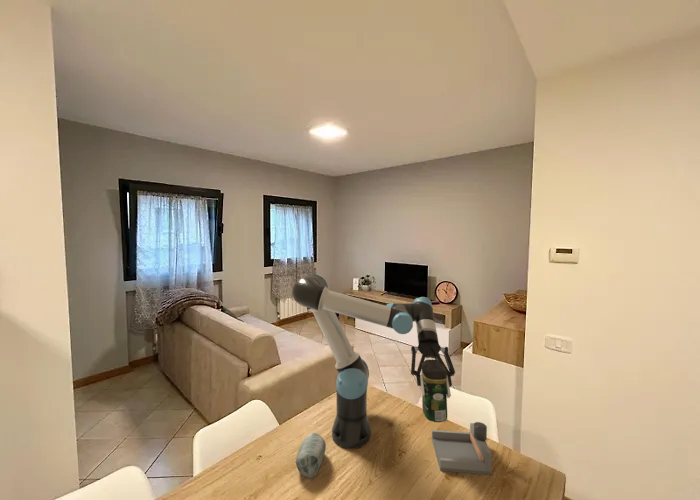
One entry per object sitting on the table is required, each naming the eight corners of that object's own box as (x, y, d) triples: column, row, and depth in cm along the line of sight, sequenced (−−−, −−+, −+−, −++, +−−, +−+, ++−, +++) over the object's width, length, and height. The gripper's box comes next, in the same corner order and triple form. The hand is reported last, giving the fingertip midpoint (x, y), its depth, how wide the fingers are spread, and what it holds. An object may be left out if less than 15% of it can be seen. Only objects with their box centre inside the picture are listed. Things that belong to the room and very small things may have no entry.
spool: (322, 476, 85) (310, 441, 88) (295, 487, 87) (284, 452, 90) (335, 455, 98) (325, 425, 101) (312, 464, 99) (302, 434, 102)
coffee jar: (420, 407, 104) (419, 357, 103) (441, 406, 104) (441, 357, 103) (426, 424, 94) (425, 369, 94) (450, 423, 94) (449, 369, 93)
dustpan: (440, 470, 92) (440, 437, 91) (431, 438, 107) (431, 410, 106) (494, 475, 90) (495, 441, 90) (478, 442, 105) (478, 413, 105)
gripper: (452, 338, 113) (465, 400, 97) (400, 337, 115) (404, 398, 99) (455, 329, 107) (470, 393, 92) (400, 329, 109) (405, 391, 94)
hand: (436, 396), depth 95 cm, fingers closed on coffee jar, 8 cm apart
